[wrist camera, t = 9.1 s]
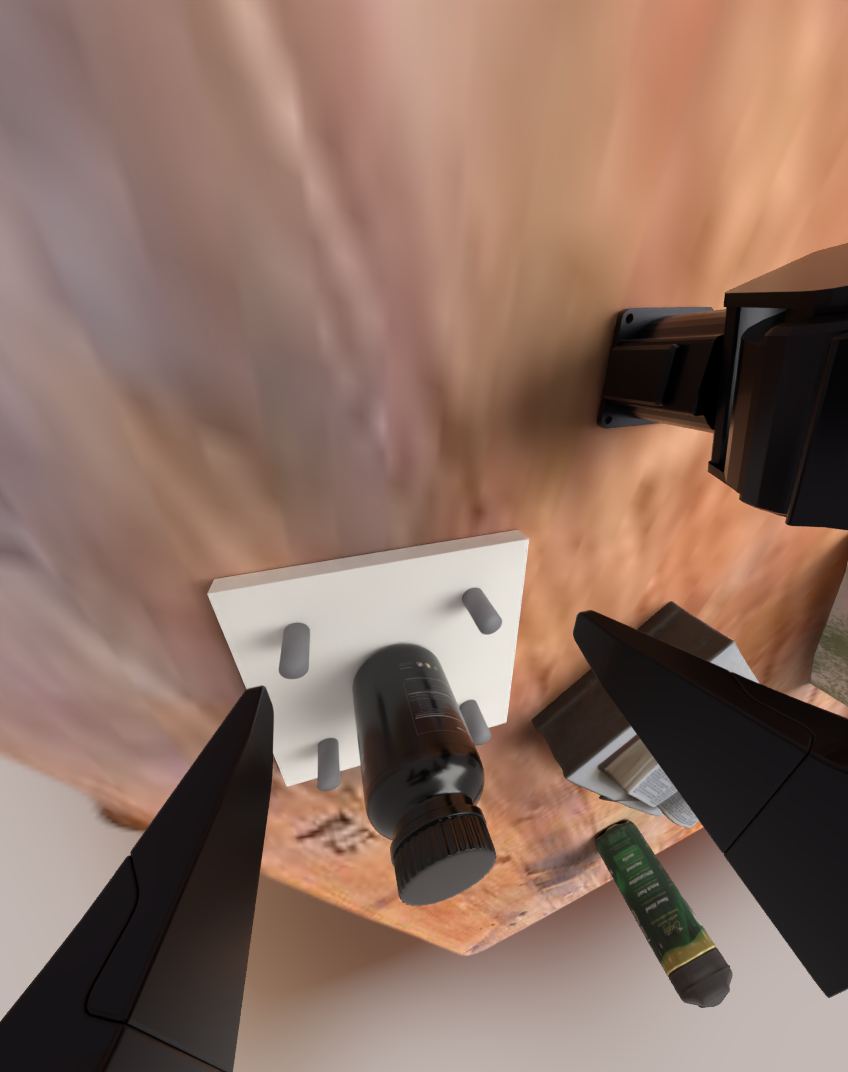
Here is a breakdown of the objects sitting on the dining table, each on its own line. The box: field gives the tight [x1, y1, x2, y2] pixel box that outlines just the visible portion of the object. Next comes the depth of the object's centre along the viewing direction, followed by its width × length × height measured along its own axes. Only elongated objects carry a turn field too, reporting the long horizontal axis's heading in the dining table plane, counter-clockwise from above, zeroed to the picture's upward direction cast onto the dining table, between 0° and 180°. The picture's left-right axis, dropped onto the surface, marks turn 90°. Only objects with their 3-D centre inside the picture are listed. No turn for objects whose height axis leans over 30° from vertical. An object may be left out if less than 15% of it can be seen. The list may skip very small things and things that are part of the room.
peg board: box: [207, 530, 529, 791], centre depth 25 cm, size 20×20×4 cm
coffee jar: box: [596, 821, 732, 1008], centre depth 52 cm, size 10×8×19 cm
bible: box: [532, 601, 760, 828], centre depth 37 cm, size 23×27×10 cm
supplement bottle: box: [352, 644, 496, 906], centre depth 21 cm, size 7×7×12 cm
